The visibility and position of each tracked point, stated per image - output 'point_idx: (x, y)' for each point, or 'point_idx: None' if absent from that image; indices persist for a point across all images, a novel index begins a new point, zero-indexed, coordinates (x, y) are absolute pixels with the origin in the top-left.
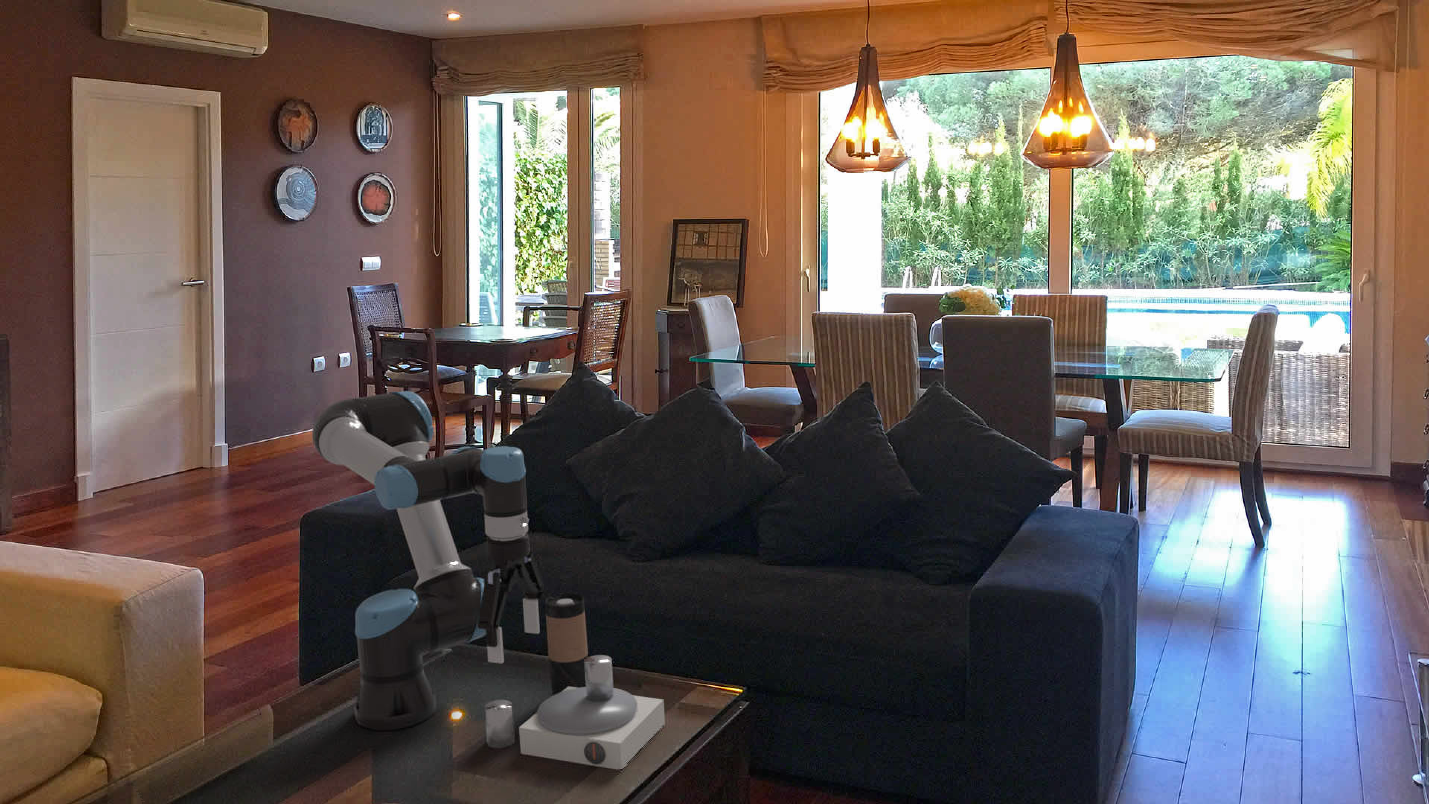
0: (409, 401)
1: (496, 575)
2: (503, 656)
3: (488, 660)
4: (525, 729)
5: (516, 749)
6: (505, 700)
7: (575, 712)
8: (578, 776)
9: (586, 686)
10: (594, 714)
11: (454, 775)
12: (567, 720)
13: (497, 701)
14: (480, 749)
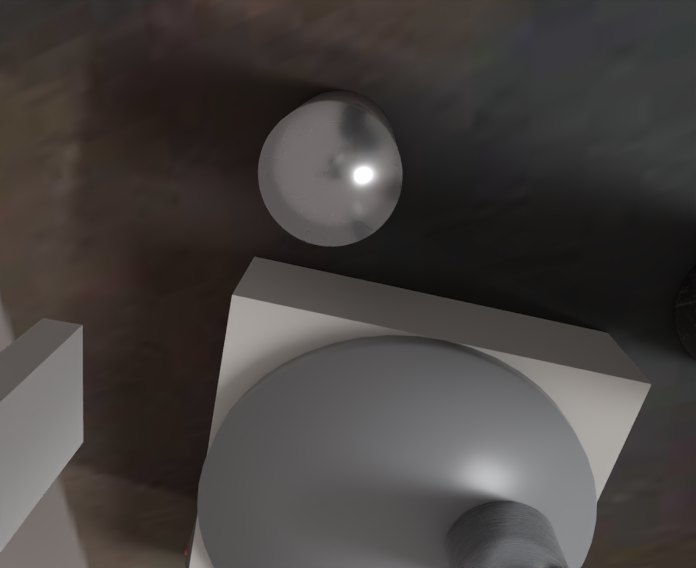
0: None
1: None
2: (58, 474)
3: (34, 328)
4: (228, 321)
5: None
6: (394, 195)
7: (345, 493)
8: (145, 465)
9: (483, 549)
10: (335, 556)
11: (47, 57)
12: (273, 481)
13: (381, 155)
14: (266, 85)
